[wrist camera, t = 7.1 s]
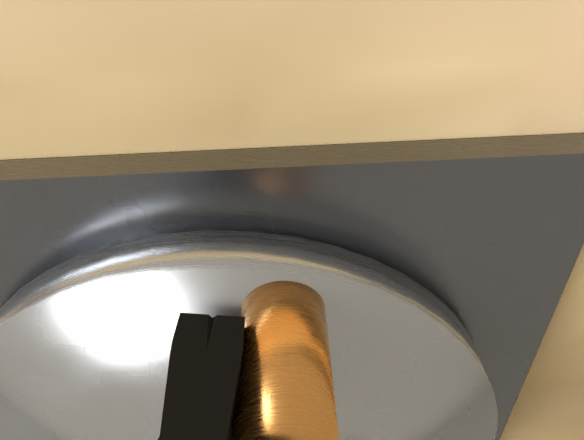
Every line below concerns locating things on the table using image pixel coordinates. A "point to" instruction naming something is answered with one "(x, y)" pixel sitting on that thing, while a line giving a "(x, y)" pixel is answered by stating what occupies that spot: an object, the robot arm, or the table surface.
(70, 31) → the table surface
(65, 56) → the table surface
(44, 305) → the platter
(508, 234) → the turntable base
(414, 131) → the table surface
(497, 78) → the table surface
